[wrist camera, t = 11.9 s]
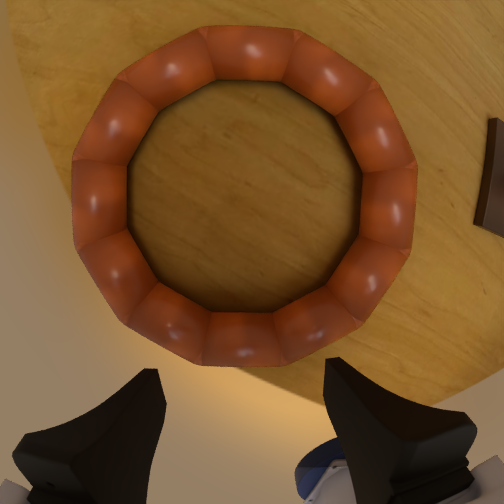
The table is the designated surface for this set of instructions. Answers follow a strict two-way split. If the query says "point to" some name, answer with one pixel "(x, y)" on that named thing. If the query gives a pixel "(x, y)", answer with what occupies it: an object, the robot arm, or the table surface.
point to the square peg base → (493, 182)
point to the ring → (236, 323)
